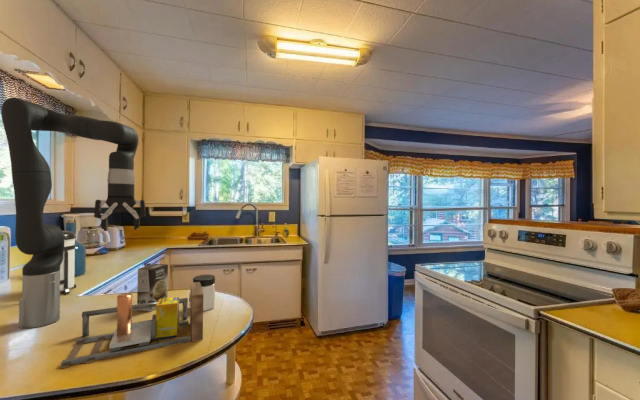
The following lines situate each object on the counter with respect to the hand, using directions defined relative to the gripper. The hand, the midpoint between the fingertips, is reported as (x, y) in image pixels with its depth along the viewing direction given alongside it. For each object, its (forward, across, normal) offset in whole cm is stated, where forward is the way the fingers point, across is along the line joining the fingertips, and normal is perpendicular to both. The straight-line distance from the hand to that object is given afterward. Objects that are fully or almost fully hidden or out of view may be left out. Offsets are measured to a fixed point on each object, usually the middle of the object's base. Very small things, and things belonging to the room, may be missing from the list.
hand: (120, 230), depth 97 cm
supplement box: (+32, -15, +16) cm, 39 cm away
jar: (+32, -27, -3) cm, 42 cm away
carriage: (+31, -6, +17) cm, 36 cm away
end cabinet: (+32, -23, +17) cm, 43 cm away
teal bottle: (+32, +34, -80) cm, 93 cm away
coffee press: (+32, +30, -47) cm, 64 cm away
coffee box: (+32, -9, -12) cm, 36 cm away
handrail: (+32, -6, +6) cm, 33 cm away
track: (+32, -6, +17) cm, 37 cm away
